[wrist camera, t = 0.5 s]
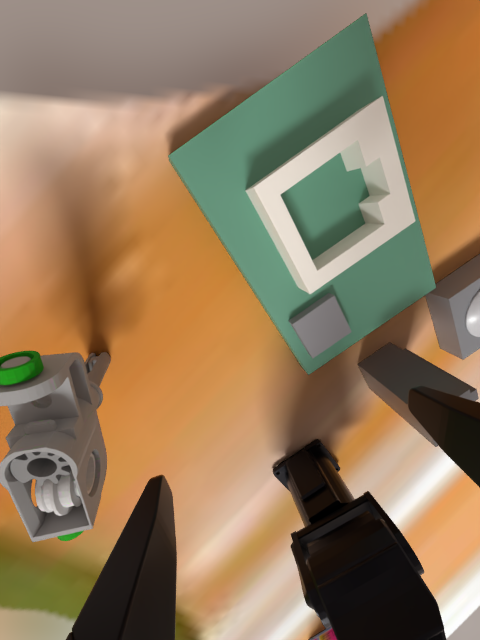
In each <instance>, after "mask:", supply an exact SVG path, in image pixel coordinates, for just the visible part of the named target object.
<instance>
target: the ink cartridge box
mask: <svg viewBox="0 0 480 640" xmlns="http://www.w3.org/2000/svg"><path fill="white" fill-rule="evenodd" d="M309 640H337V639H336V636H335V634H334V631H333V629H332V626H331V627H329V628H327V629H325V630H324V631H322V632H321V633H319V634H317V635H316V636H314V637H312V638H311V639H309Z"/></svg>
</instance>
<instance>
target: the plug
mask: <svg viewBox="0 0 480 640" xmlns="http://www.w3.org/2000/svg"><path fill="white" fill-rule="evenodd" d="M358 366H359V368H360V370H361V372H362V374H363V376H364V378H365V380H366V382H367V384H368V386H369V388H370V389H371V390H372V391H373V392H374V393H375V394H376V395H377V396H379V397H380V398H381V399H382V400H383V401H384V402H385V403H387V404H388V405H389V406H390V407H391V408H392V409H393V410H394V411H396V412H397V413H398V414H399V415H400V416H401V417H402V418H403V419H405V420H406V421H407V422H408V423H409V424H410V425H411V426H412V427H414V428H415V429H416V430H417V431H418V432H419V433H420V434H422V435H423V436H424V437H425V438H426V439H427V440H428V441H429V442H431V443H432V444H433V445H434V446H435V447H437V446H438V444H437V443H436V442H435V441H434V440H433V438H432V437H431V436H430V435H429V434H428V432H427V431H426V430H425V429H424V428H423V427H422V425H421V424H420V423H419V422H418V421H417V419H416V418H415V417H414V416H413V415H412V414H411V412H410V411H409V408H408V394H409V390H410V389H411V388H413V387H416V386H420V385H421V386H425V387H429V388H432V389H435V390H439V391H442V392H445V393H449V394H452V395H455V396H459V397H462V398H466V399H469V400H472V401H476V400H477V399H479V398H478V394H477V389H475V388H473V387H472V386H470V385H468V384H466V383H465V382H463V381H461V380H459V379H458V378H456V377H454V376H452V375H451V374H449V373H447V372H445V371H444V370H442V369H440V368H438V367H437V366H435V365H433V364H431V363H430V362H428V361H426V360H425V359H423V358H421V357H419V356H418V355H416V354H414V353H412V352H411V351H409V350H407V349H404V350H402V349H400V348H399V347H397V346H395V345H393V344H392V343H390V342H389V343H388V344H387V345H385V346H384V347H382V348H381V349H379V350H378V351H376V352H375V353H373V354H372V355H370V356H369V357H368V358H366V359H365V360H363V361H362V362H360V363H359V364H358Z"/></svg>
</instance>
